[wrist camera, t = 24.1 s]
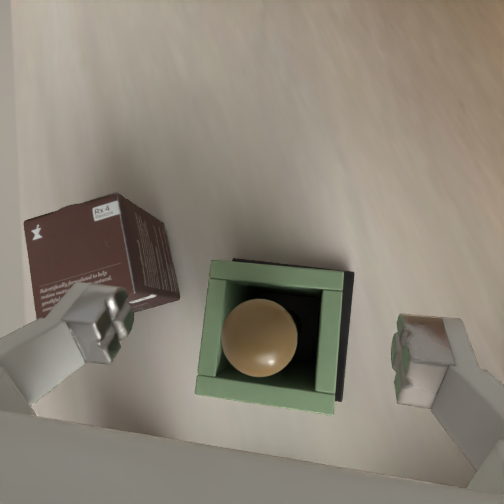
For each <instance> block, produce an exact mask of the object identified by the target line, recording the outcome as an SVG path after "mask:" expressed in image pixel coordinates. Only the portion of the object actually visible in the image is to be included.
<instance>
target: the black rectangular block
mask: <svg viewBox="0 0 504 504" xmlns="http://www.w3.org/2000/svg"><path fill="white" fill-rule="evenodd" d="M232 262H243V263H254V264H266V265H277V266H288V267H300V268H311V269H322V270H333V269H324V268H315V267H307V266H298V265H289V264H280V263H272V262H263V261H254V260H245V259H236V258H233V260H232ZM334 271H342V270H334ZM343 272H344V280H343V290H342V307H341V321H340V335H339V349H338V363H337V377H336V390H335V393H334V394H335V401H338V402H342V397H343V387H344V376H345V366H346V355H347V345H348V335H349V324H350V314H351V304H352V293H353V283H354V272H351V271H343ZM319 299H320V298H313V297H303V296H294V295H284V294H274V293H264V292H257V299H252V300H248V301H245V302H243V303H241V304H239V305H238V306H236V307H235V308H234V309H233V310H232V311H231V312H230V313H229V315H228V316H227V318H226V320H225V322H224V325H223V328H222V333H221V343H222V348H223V351H224V354H225V356H226V358H227V359H228V361H229V362H230V363H231V365H233V366H234V367H235V368H236V369H237V370H238V371H240V372H242V373H244V374H246V375H249V376H253V377H265V376H270V375H273V374H275V373H277V372H279V371H280V370H282V369H283V368H284V367H285V366H287V364H288V363H289V362H290V361H291V360H297V361H305V362H312V363H314V357H315V345H316V333H317V320H318V308H319Z"/></svg>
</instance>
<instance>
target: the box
mask: <svg viewBox="0 0 504 504" xmlns="http://www.w3.org/2000/svg"><path fill="white" fill-rule="evenodd" d="M24 230H25V237H26V244H27V250H28V258H29V265H30V273H31V281H32V288H33V296H34V304H35V311H36V318H37V319H39V318H45V317H46V316H47V315H48V314H49V313H50V312H51V310H52V309H53V308H54V307H55V306H56V305H57V303H58V302H59V301H60V300H61V299H62V298H63V296H64V295H65V294H66V293H67V292H68V291H69V289H70V288H71V287H72V286H73V285H74V284H76V283H78V282H83V283H91V284H93V283H94V284H102V285H110V286H118V287H123V288H125V289H126V291H127V294H128V298H127V299H126V302H127V303H128V304H129V305H130V306H132V309H133V312H138V311H141V310H145V309H149V308H153V307H156V306H159V305H163V304H166V303H169V302H174V301H177V300H179V299H180V294H179V289H178V284H177V280H176V276H175V272H174V268H173V262H172V258H171V253H170V248H169V243H168V239H167V234H166V229H165V226H164V223H163V222H161V221H160V220H158V219H157V218H155V217H154V216H152V215H151V214H149V213H148V212H146V211H144V210H143V209H141V208H140V207H138V206H137V205H135V204H134V203H132V202H131V201H129V200H128V199H125V198H124V197H123V196H122V195H120V194H119V193H117V192H116V193H112V194H109V195H106V196H102V197H99V198H96V199H93V200H90V201H87V202H84V203H80V204H73V205H69V206H66V207H63V208H61V209H59V210H57V211H55V212H51V213H48V214H45V215H41V216H37V217H34V218H31V219H28V220H26V221H24Z"/></svg>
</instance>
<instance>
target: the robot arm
mask: <svg viewBox="0 0 504 504" xmlns="http://www.w3.org/2000/svg"><path fill="white" fill-rule="evenodd" d="M127 298H128V294H127V291H126V289H125V288H123V287H118V286H110V285H102V284H94V283H93V284H91V283H83V282H78V283H76V284H74V285H73V286H72V287H71V288H70V289H69V291H68V292H67V293H66V294H65V295H64V296H63V298H62V299H61V300H60V301H59V302H58V303H57V305H56V306H55V307H54V308H53V309H52V310H51V312H50V313H49V314H48V315H47V316H46V317H45V318H39V319H37V320H35V321H33V322H31V323H29V324H27V325H25V326H23V327H22V328H20V329H18V330H16V331H14V332H12V333H10V334H8V335H6V336H4V337H2V338H0V504H504V385H503V384H502V383H500V382H499V381H498V380H497V379H496V378H495V377H494V376H493V375H491V374H490V373H489V372H488V371H487V370H484V369H480V368H479V365H478V362H477V360H476V357H475V354H474V351H473V348H472V346H471V343H470V340H469V337H468V334H467V332H466V329H465V326H464V323H463V321H462V320H461V319H459V318H447V317H435V316H423V315H412V314H400V315H399V317H398V321H397V328H398V332H397V333H395V334H394V336H393V341H392V348H391V360H392V368H393V369H394V370H395V371H396V372H397V374H396V377H395V381H394V384H395V391H396V398H397V404H403V405H409V406H415V407H422V408H428V409H431V412H432V413H433V414H434V416H435V417H436V418H437V420H438V421H439V422H440V424H441V425H442V426H443V428H444V429H445V430H446V432H447V433H448V434H449V436H450V437H451V438H452V440H453V441H454V442H455V444H456V445H457V446H458V448H459V449H460V450H461V452H462V453H463V454H464V456H465V457H466V459H467V460H468V461H469V463H470V464H471V465H472V467H473V468H474V469H475V471H476V472H477V473H476V474H475V476H474V477H473V479H472V480H471V482H470V483H469V485H468V486H467V488H460V487H455V486H449V485H443V484H437V483H431V482H425V481H419V480H413V479H407V478H401V477H395V476H389V475H383V474H377V473H371V472H365V471H359V470H354V469H348V468H342V467H336V466H330V465H324V464H318V463H312V462H306V461H300V460H294V459H288V458H282V457H276V456H270V455H264V454H259V453H253V452H247V451H241V450H235V449H229V448H223V447H217V446H211V445H205V444H199V443H193V442H187V441H181V440H175V439H169V438H163V437H157V436H151V435H145V434H139V433H133V432H127V431H121V430H116V429H110V428H104V427H98V426H92V425H86V424H80V423H74V422H68V421H62V420H56V419H50V418H44V417H38V416H37V415H36V414H35V412H34V411H33V409H32V408H31V407H30V406H31V405H32V404H34V403H35V402H36V401H38V400H39V399H40V398H41V397H43V396H44V395H45V394H47V393H48V392H49V391H50V390H52V389H53V388H54V387H56V386H57V385H58V384H59V383H61V382H62V381H63V380H65V379H66V378H67V377H68V376H70V375H71V374H72V373H74V372H75V371H76V370H77V369H79V368H80V367H81V366H83V365H84V364H85V362H92V363H101V364H110V365H111V364H112V362H113V360H114V358H115V357H116V355H117V353H118V352H119V350H120V348H121V344H120V341H121V340H122V339H124V338H125V337H127V336H128V334H129V333H130V331H131V329H132V325H133V321H134V312H133V309H132V306H130V305H129V304H128V303H127V302H126V299H127Z"/></svg>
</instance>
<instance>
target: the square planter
mask: <svg viewBox="0 0 504 504" xmlns="http://www.w3.org/2000/svg"><path fill="white" fill-rule="evenodd" d="M209 277H210V279H209V283H208V291H207V299H206V307H205V315H204V323H203V331H202V339H201V347H200V356H199V364H198V372H197V373H198V375H197V379H196V388H195V394H196V395H202V396H209V397H215V398H222V399H228V400H235V401H241V402H248V403H254V404H261V405H267V406H274V407H280V408H287V409H294V410H300V411H307V412H313V413H320V414H326V415H333V414H334V405H335V394H334V393H335V390H336V377H337V363H338V349H339V335H340V321H341V307H342V290H343V280H344V272H343V271H334V270H322V269H311V268H300V267H288V266H277V265H266V264H254V263H243V262H231V261H220V260H212V261H211V267H210V275H209ZM257 292H264V293H274V294H284V295H294V296H303V297H313V298H320V299H319V308H318V320H317V333H316V345H315V357H314V363H312V362H305V361H297V360H291V361H290V362H289V363H288V364H287V366H285V367H284V368H283V369H282V370H280V371H279V372H277V373H275V374H273V375H270V376H265V377H253V376H249V375H246V374H244V373H242V372H240V371H238V370H237V369H236V368H235V367H234V366H233V365H231V363H230V362H229V361H228V359H227V358H226V356H225V354H224V351H223V348H222V343H221V333H222V328H223V325H224V322H225V320H226V318H227V316H228V315H229V313H230V312H231V311H232V310H233V309H234V308H235V307H236V306H238V305H239V304H241V303H243V302H245V301H248V300H252V299H257Z"/></svg>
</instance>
